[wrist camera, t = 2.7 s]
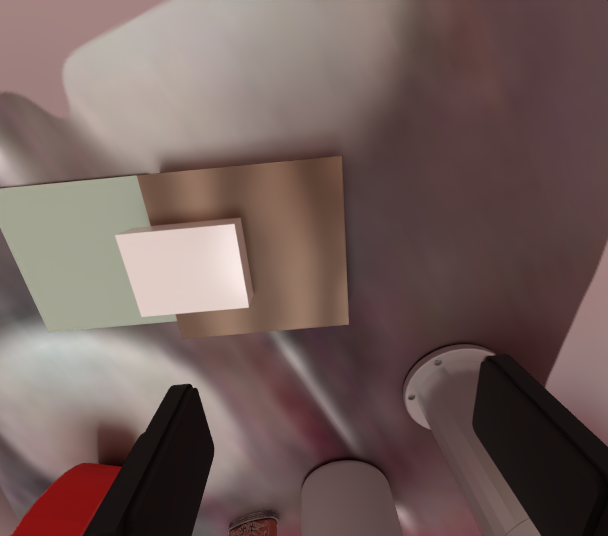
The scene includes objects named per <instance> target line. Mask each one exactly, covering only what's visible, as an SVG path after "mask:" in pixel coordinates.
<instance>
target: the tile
mask: <svg viewBox="0 0 608 536" xmlns="http://www.w3.org/2000/svg"><path fill="white" fill-rule="evenodd" d="M115 237H116V240H117V244H118V247H119V250H120V253H121V256H122V259H123V262H124V265H125V268H126V271H127V274H128V277H129V280H130V283H131V286H132V289H133V292H134V295H135V299H136V302H137V305H138V308H139V311H140V314H141V317H147V316H159V315H170V314H182V313H193V312H204V311H216V310H227V309H239V308H249V306H250V304H251V301H252V298H253V295H254V294H253V288H252V282H251V276H250V270H249V264H248V258H247V252H246V246H245V240H244V234H243V228H242V222H241V218H232V219H221V220H210V221H200V222H189V223H178V224H167V225H157V226H146V227H135V228H131V229H128V230H126V231H123V232H121V233H119V234H116V235H115Z"/></svg>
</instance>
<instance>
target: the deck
mask: <svg viewBox="0 0 608 536" xmlns="http://www.w3.org/2000/svg"><path fill="white" fill-rule="evenodd" d="M137 179H138V182H139V186H140V190H141V193H142V197H143V200H144V204H145V208H146V211H147V215H148V218H149V222H150V225H151V226H157V225H167V224H178V223H189V222H200V221H210V220H221V219H232V218H241V222H242V228H243V234H244V240H245V246H246V252H247V258H248V264H249V270H250V276H251V282H252V288H253V294H254V295H253V298H252V301H251V304H250V306H249V308H239V309H227V310H216V311H204V312H193V313H182V314H175V315H176V318H177V322H178V326H179V329H180V333H181V336H182V339H186V338H198V337H209V336H221V335H232V334H244V333H256V332H267V331H279V330H290V329H302V328H313V327H325V326H337V325H348V324H349V318H348V293H347V269H346V244H345V220H344V195H343V171H342V156H334V157H324V158H313V159H303V160H293V161H282V162H272V163H261V164H251V165H240V166H230V167H220V168H209V169H199V170H188V171H178V172H168V173H157V174H147V175H137Z"/></svg>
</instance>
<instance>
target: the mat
mask: <svg viewBox="0 0 608 536" xmlns="http://www.w3.org/2000/svg"><path fill="white" fill-rule="evenodd" d="M146 226H151V225H150V222H149V218H148V215H147V211H146V208H145V204H144V200H143V197H142V193H141V190H140V186H139V182H138V179H137V175H136V176H126V177H115V178H105V179H95V180H84V181H74V182H63V183H53V184H43V185H32V186H22V187H11V188H1V189H0V228H1V230H2V233H3V235H4V237H5V239H6V241H7V243H8V246H9V248H10V250H11V252H12V254H13V256H14V258H15V261H16V263H17V265H18V267H19V269H20V271H21V273H22V276H23V278H24V280H25V282H26V284H27V286H28V289H29V291H30V293H31V295H32V297H33V299H34V301H35V304H36V306H37V308H38V310H39V312H40V314H41V316H42V319H43V321H44V323H45V325H46V327H47V329H48V331H49V332H57V331H68V330H80V329H91V328H103V327H114V326H126V325H137V324H149V323H160V322H171V321H177V318H176V315H175V314H170V315H159V316H147V317H141V314H140V311H139V308H138V305H137V302H136V299H135V295H134V292H133V289H132V286H131V283H130V280H129V277H128V274H127V271H126V268H125V265H124V262H123V259H122V256H121V253H120V250H119V247H118V244H117V240H116V237H115V235H116V234H119V233H121V232H123V231H126V230H128V229H131V228H135V227H146Z"/></svg>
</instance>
